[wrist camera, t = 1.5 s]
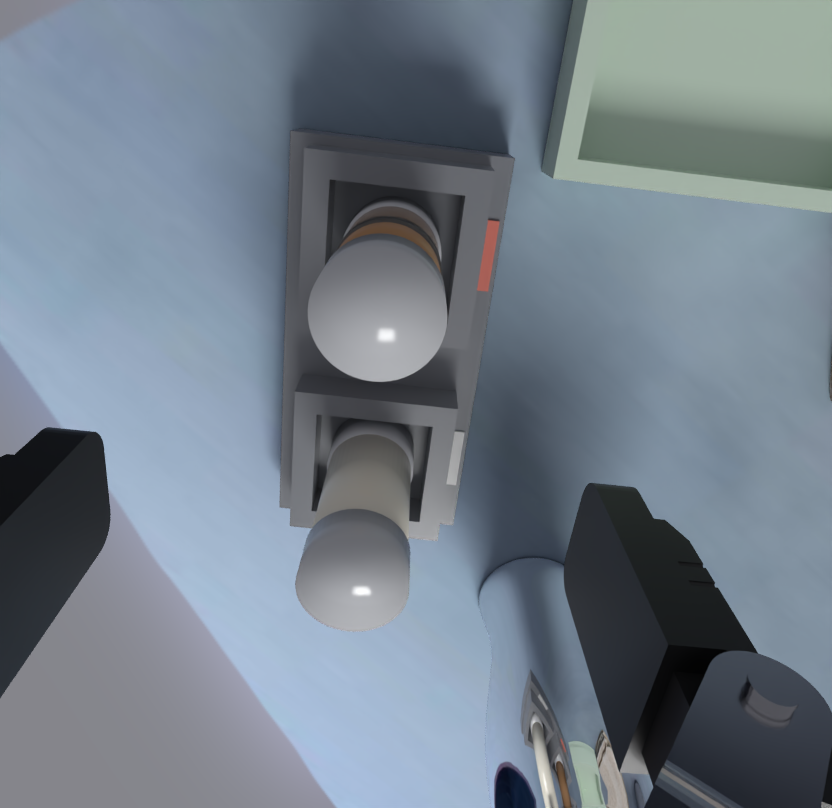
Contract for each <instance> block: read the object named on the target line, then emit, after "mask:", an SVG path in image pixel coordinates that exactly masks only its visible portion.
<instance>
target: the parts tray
mask: <svg viewBox="0 0 832 808" xmlns="http://www.w3.org/2000/svg"><path fill="white" fill-rule="evenodd" d="M541 171H542V172H544V173H545V174H547V175H548V176H550V177H551V178H553V179H560V180H569V181H577V182H585V183H593V184H601V185H609V186H617V187H626V188H634V189H642V190H650V191H658V192H666V193H674V194H682V195H691V196H699V197H707V198H715V199H723V200H731V201H739V202H748V203H756V204H764V205H772V206H780V207H788V208H796V209H805V210H813V211H821V212H829V213H832V0H573V3H572V9H571V14H570V20H569V25H568V30H567V36H566V41H565V46H564V52H563V57H562V62H561V68H560V73H559V79H558V84H557V89H556V95H555V100H554V105H553V111H552V116H551V121H550V127H549V132H548V138H547V143H546V148H545V154H544V159H543V164H542V170H541Z"/></svg>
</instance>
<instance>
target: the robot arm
mask: <svg viewBox="0 0 832 808" xmlns="http://www.w3.org/2000/svg"><path fill="white" fill-rule="evenodd" d="M109 526H110V504H109V493H108V484H107V474H106V464H105V454H104V446H103V441H102V439H101V436H100V435H99V434H98V433H96V432H90V431H80V430H70V429H60V428H50V427H48V428H45V429H43V430H41V431H40V432H39V433H38V434H37V435H36V436H35V437H34V438H33V439H31V440H30V441H29V442H28V443H27V444H26V445H25V446H24V447H23V448H22V449H20V450H19V451H18V452H17V453H16V454H15V455H10V454H6V455H4V456H2V457H0V698H1V696H2V695H3V693H4V692H5V690H6V689H7V687H8V686H9V684H10V682H11V681H12V680H13V678H14V677H15V676H16V674H17V672H18V671H19V670H20V668H21V667H22V665H23V664H24V663H25V661H26V660H27V658H28V657H29V655H30V654H31V652H32V651H33V649H34V648H35V646H36V645H37V644H38V642H39V641H40V639H41V637H42V636H43V635H44V633H45V632H46V630H47V629H48V627H49V626H50V624H51V623H52V622H53V620H54V619H55V617H56V616H57V614H58V613H59V611H60V610H61V608H62V607H63V606H64V604H65V602H66V601H67V600H68V598H69V597H70V595H71V594H72V592H73V591H74V589H75V588H76V587H77V585H78V584H79V582H80V581H81V579H82V578H83V576H84V575H85V573H86V572H87V570H88V569H89V567H90V566H91V565H92V563H93V562H94V560H95V559H96V557H97V556H98V554H99V553H100V551H101V550H102V548H103V546H104V544H105V541H106V538H107V535H108V531H109ZM714 584H715V582H714V581H713V579H712V577H711V576H710V574H709V572H708V571H707V569H706V568H703V563H702V561H701V559H700V558H699V556H698V554H697V553H696V551H695V550H694V548H693V546H692V545H691V543H690V541H689V540H688V539H686V538H685V537H684V536H683V535H682V534H681V533H679V532H678V531H677V530H676V529H675V528H674V527H672V526H671V525H670V524H669V523H668V522H667V521H665V520H660V519H654V518H653V517H652V515H651V513H650V511H649V510H648V508H647V506H646V504H645V502H644V501H643V499H642V497H641V495H640V493H639V492H638V490H637V489H636V488H634V487H626V486H616V485H606V484H596V483H589V484H588V485H587V486H586V488H585V490H584V492H583V495H582V498H581V502H580V506H579V509H578V513H577V517H576V520H575V524H574V528H573V531H572V535H571V539H570V542H569V546H568V550H567V554H566V558H565V564H564V588H565V593H566V597H567V600H568V604H569V607H570V610H571V614H572V617H573V620H574V624H575V627H576V630H577V634H578V637H579V640H580V644H581V647H582V650H583V654H584V657H585V660H586V664H587V667H588V670H589V674H590V677H591V680H592V684H593V687H594V690H595V694H596V697H597V700H598V704H599V707H600V710H601V714H602V717H603V720H604V723H605V727H606V730H607V733H608V737H609V740H610V743H611V747H612V750H613V753H614V757H615V760H616V763H617V767H618V770H619V772H620V773H633V774H646V775H649V776H650V779H651V782H652V785H653V789H652V791H651V793H650V796H649V798H648V800H647V802H646V804H645V807H644V808H832V712H831V710H830V708H829V706H828V704H827V703H826V701H825V700H824V698H823V697H822V696H821V694H820V693H819V692H818V691H817V690H816V689H815V688H814V687H813V686H812V685H811V684H810V683H809V682H808V681H807V680H806V679H804V678H803V677H802V676H801V675H799V674H798V673H797V672H795V671H794V670H792V669H791V668H789V667H787V666H786V665H784V664H782V663H780V662H778V661H776V660H774V659H771V658H769V657H766V656H763V655H761V654H758V653H757V651H756V649H755V648H754V646H753V644H752V643H751V641H750V639H749V638H748V636H747V635H746V633H745V631H744V630H743V628H742V626H741V625H740V623H739V621H738V620H737V618H736V617H735V615H734V613H733V612H732V610H731V608H730V607H729V605H728V603H727V602H726V600H725V599H724V597H723V595H722V594H721V592H720V590H719V589H718V588H716V587H715V586H714Z"/></svg>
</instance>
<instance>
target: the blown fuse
mask: <svg viewBox="0 0 832 808" xmlns="http://www.w3.org/2000/svg"><path fill="white" fill-rule="evenodd" d="M308 323H309V328H310V331H311V335H312V337H313V339H314V342H315V344H316V345H317V347H318V349H319V350H320V352H321V353H322V354H323V356H324V357H325V358H326V359H327V360H328V361H329V362H330V363H331V364H332V365H334V366H335V367H336V368H338V369H339V370H341V371H342V372H344V373H346V374H348V375H350V376H352V377H355V378H358V379H362V380H366V381H373V382H385V381H393V380H398V379H401V378H404V377H407V376H409V375H411V374H413V373H415V372H416V371H418V370H419V369H421V368H422V367H423V366H425V365H426V364H427V363H428V362H429V361H430V360H431V359H432V358H433V356H434V355H435V354H436V352H437V351H438V349H439V347H440V345H441V343H442V341H443V338H444V336H445V332H446V327H447V304H446V294H445V286H444V281H443V278H442V267H441V243H440V235H439V231H438V228H437V225H436V223H435V221H434V220H433V218H432V217H431V215H430V214H429V213H428V212H427V210H425V209H424V208H423V207H422V206H421V205H419V204H418V203H416V202H414V201H412V200H410V199H407V198H403V197H398V196H388V197H382V198H378V199H376V200H373V201H371V202H369V203H368V204H366V205H365V206H364V207H362V208H361V209H360V210H359V211H358V212H357V214H356V215H355V216H354V218H353V220H352V221H351V223H350V225H349V226H348V228H347V230H346V232H345V234H344V237H343V239H342V241H341V243H340V244H339V246H338V248H337V250H336V252H335V253H334V254H333V255H332V256H331V257H330V259H329V260H328V262H327V263H326V265H325V267H324V268H323V270H322V272H321V273H320V275H319V277H318V279H317V280H316V282H315V284H314V286H313V288H312V291H311V294H310V298H309V302H308Z"/></svg>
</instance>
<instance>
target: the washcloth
mask: <svg viewBox="0 0 832 808" xmlns="http://www.w3.org/2000/svg"><path fill="white" fill-rule="evenodd" d="M831 365H832V360H831ZM830 399H831V401H832V366H831V375H830Z"/></svg>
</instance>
